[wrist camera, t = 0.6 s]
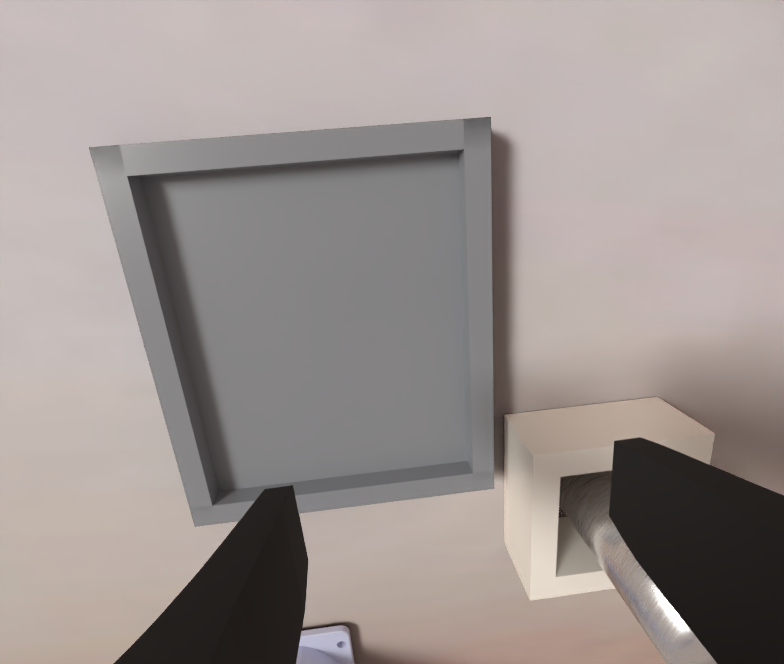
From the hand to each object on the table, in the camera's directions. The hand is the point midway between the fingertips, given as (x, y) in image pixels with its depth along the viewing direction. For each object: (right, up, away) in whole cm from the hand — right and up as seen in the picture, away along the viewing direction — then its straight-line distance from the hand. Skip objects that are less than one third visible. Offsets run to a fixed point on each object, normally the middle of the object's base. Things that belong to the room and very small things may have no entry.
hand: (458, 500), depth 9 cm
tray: (-4, +4, +9) cm, 11 cm away
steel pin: (+8, -4, +13) cm, 15 cm away
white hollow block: (+8, -4, +13) cm, 15 cm away
